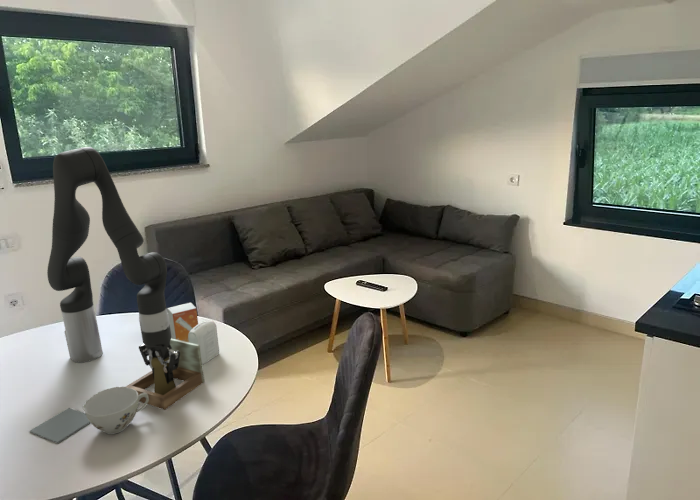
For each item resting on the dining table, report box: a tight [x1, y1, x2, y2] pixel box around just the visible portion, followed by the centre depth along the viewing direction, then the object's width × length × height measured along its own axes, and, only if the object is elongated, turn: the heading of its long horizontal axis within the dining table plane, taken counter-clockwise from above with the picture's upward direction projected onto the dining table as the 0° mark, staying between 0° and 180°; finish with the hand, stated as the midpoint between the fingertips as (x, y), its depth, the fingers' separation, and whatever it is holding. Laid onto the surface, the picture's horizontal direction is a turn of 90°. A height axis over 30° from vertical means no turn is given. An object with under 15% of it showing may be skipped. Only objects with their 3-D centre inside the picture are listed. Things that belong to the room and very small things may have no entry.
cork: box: [151, 357, 177, 395], centre depth 145 cm, size 6×6×11 cm
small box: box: [166, 302, 199, 342], centre depth 174 cm, size 8×6×13 cm
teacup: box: [82, 386, 149, 435], centre depth 131 cm, size 15×12×8 cm
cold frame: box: [125, 338, 205, 411], centre depth 146 cm, size 14×15×12 cm
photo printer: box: [188, 320, 220, 366], centre depth 162 cm, size 10×4×12 cm, turn 155°
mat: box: [29, 407, 91, 444], centre depth 133 cm, size 11×11×1 cm
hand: (163, 380), depth 146 cm, fingers closed on cork, 4 cm apart
